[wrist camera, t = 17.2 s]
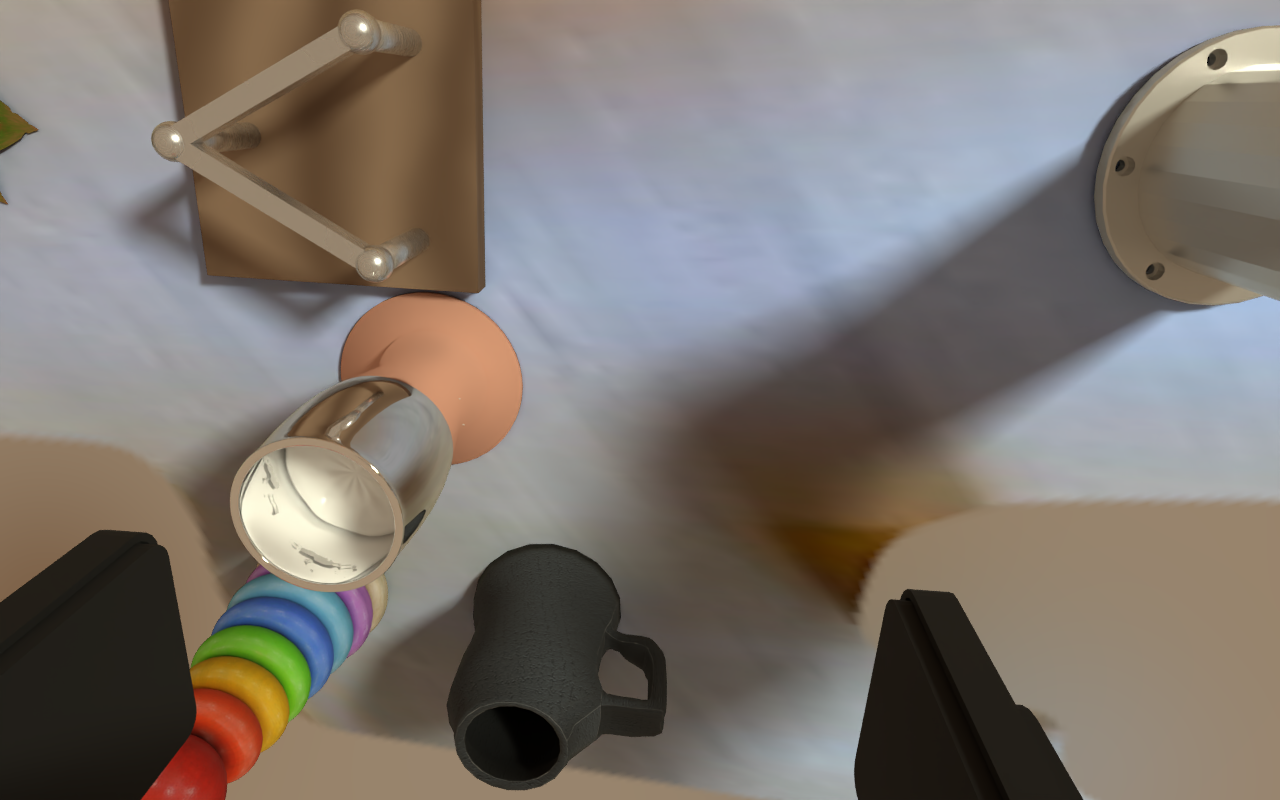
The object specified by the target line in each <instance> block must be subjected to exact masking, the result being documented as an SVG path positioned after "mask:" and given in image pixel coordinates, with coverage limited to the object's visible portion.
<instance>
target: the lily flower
mask: <svg viewBox="0 0 1280 800" xmlns="http://www.w3.org/2000/svg"><path fill="white" fill-rule="evenodd" d="M37 130H38V129H37V128H35V127H34V126H32V125H30V124H28V122H26V121H25V120H24V119H23V118H21V117H20V116H19V115H18V114H16V113H12V111H11V110H10V108H9V107H8V106H7V105H5V104H4V103H3V102H2V101H0V150H2V149H4V148H6V147H8V146H10V145H11V144H13V143H15V142H16V141H18V140H19V139H21V138H22V135H24V133H25V132H27V133H31V132H33V131H37ZM0 202H3V203H5V204H8V203H7V202H6V200H5V199H4V198H3V196H2V195H1V192H0Z"/></svg>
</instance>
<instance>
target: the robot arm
mask: <svg viewBox="0 0 1280 800" xmlns="http://www.w3.org/2000/svg"><path fill="white" fill-rule="evenodd" d="M1208 56H1209V57H1210V61H1209V63H1208V64H1207V58H1208ZM1118 161H1120V166H1119V168H1118V169H1117V170H1115V166H1116V164H1117V162H1118ZM1094 202H1095V214H1096V222H1097V225H1098V228H1099V232H1100V235H1101V238H1102V242H1103V244H1104V245H1105V247H1106V249H1107V251H1108V252H1109V254H1110V256H1111V258H1112V259H1113V261H1114V262H1115V263H1116V264H1117V265H1118V267H1119V268H1120V269H1121V270H1122V271H1123V272H1124V273H1125V274H1126V275H1127V276H1128V277H1129V278H1130V279H1132V280H1133V281H1135V282H1136V283H1138V284H1139V285H1141V286H1142V287H1144V288H1145V289H1147V290H1149V291H1152V292H1154V293H1157V294H1159V295H1161V296H1163V297H1166V298H1169V299H1172V300H1176V301H1180V302H1184V303H1187V304H1197V305H1213V306H1214V305H1223V304H1232V303H1240V302H1244V301H1247V300H1251V299H1254V298H1258V297H1261V296H1266V297H1269V298H1272V299H1275V300H1278V301H1280V26H1261V27H1255V28H1249V29H1242V30H1236V31H1233V32H1230V33H1227V34H1224V35H1221V36H1218V37H1215V38H1212V39H1209V40H1206V41H1205V42H1203V43H1201V44H1199V45H1197V46H1195V47H1193V48H1191V49H1189V50H1188V51H1186V52H1184V53H1182V54H1180V55H1179V56H1178V57H1176V58H1175V59H1174V60H1172V61H1171V62H1170V63H1168V64H1167V65H1166V66H1164V67H1163V68H1162V69H1160V70H1159V71H1158V72H1156V73H1155V74H1154V75H1153V76H1152V77H1151V78H1150V79H1149V80H1148V81H1147V82H1146V84H1145V85H1144V86H1143V87H1142V88H1141V89H1140V90H1139V91H1138V92H1137V93H1136V94H1135V95H1134V96H1133V98H1132V99H1131V101H1130V102H1129V103H1128V105H1127V106H1126V108H1125V109H1124V110H1123V112H1122V113H1121V115H1120V116H1119V117H1118V119H1117V121H1116V123H1115V125H1114V127H1113V129H1112V131H1111V133H1110V135H1109V137H1108V139H1107V141H1106V143H1105V145H1104V149H1103V152H1102V155H1101V158H1100V162H1099V165H1098V168H1097V174H1096V183H1095V191H1094ZM1148 266H1150V268H1149V270H1148V271H1146V270H1147V268H1148ZM196 714H197V708H196V701H195V696H194V690H193V685H192V679H191V674H190V669H189V664H188V658H187V653H186V647H185V641H184V636H183V631H182V625H181V620H180V615H179V609H178V603H177V599H176V593H175V588H174V582H173V576H172V571H171V566H170V561H169V555H168V552H167V550H166V549H165V548H164V547H163V546H161V545H158V544H157V541H156V540H155V538H154V537H153V536H152V535H150V534H148V533H142V532H129V531H116V530H99V531H97V532H95V533H93V534H92V535H90V536H89V537H88V538H86V539H85V540H84V541H82V542H81V543H80V544H78V545H77V546H76V547H74V548H73V549H72V550H70V551H69V552H67V553H66V554H65V555H63V556H62V557H61V558H60V559H58V560H57V561H55V562H54V563H53V564H51V565H50V566H49V567H47V568H46V569H45V570H43V571H42V572H41V573H39V574H38V575H37V576H35V577H34V578H32V579H31V580H30V581H28V582H27V583H26V584H24V585H23V586H22V587H20V588H19V589H18V590H16V591H15V592H14V593H12V594H11V595H10V596H9V597H7V598H6V599H4V600H3V601H2V602H0V800H141V799H142V798H143V796H144V795H145V794H146V792H147V791H148V790H149V789H150V787H151V786H152V785H153V783H154V782H155V781H156V779H157V778H158V777H159V776H160V774H161V773H162V772H163V770H164V769H165V768H166V766H167V765H168V764H169V762H170V761H171V760H172V759H173V757H174V756H175V755H176V753H177V752H178V751H179V749H180V748H181V747H182V746H183V744H184V743H185V742H186V740H187V739H188V737H189V736H190V734H191V732H192V730H193V727H194V724H195V721H196ZM854 778H855V788H856V793H857V797H858V800H1083V798H1082V797H1081V795H1080V793H1079V791H1078V790H1077V788H1076V786H1075V784H1074V783H1073V781H1072V779H1071V777H1070V776H1069V774H1068V772H1067V771H1066V769H1065V767H1064V765H1063V764H1062V762H1061V760H1060V758H1059V757H1058V755H1057V753H1056V751H1055V750H1054V748H1053V746H1052V744H1051V743H1050V741H1049V739H1048V737H1047V736H1046V734H1045V732H1044V730H1043V729H1042V727H1041V725H1040V723H1039V722H1038V720H1037V719H1036V717H1035V716H1034V715H1033V713H1032V712H1031V711H1030V710H1029V709H1028V708H1026V707H1024V706H1023V705H1016V704H1015V703H1014V701H1013V699H1012V697H1011V695H1010V693H1009V692H1008V690H1007V688H1006V686H1005V685H1004V683H1003V681H1002V679H1001V677H1000V675H999V674H998V672H997V670H996V668H995V667H994V665H993V663H992V661H991V659H990V657H989V656H988V654H987V652H986V650H985V648H984V646H983V645H982V643H981V641H980V639H979V637H978V636H977V634H976V632H975V630H974V628H973V627H972V625H971V623H970V621H969V619H968V617H967V616H966V614H965V612H964V610H963V608H962V607H961V605H960V603H959V601H958V599H957V598H956V597H955V595H954V594H953V593H950V592H940V591H926V590H913V589H907V590H905V591H904V592H903V594H902V596H901V599H900V600H892V599H891V600H889V601H888V603H887V605H886V609H885V612H884V617H883V622H882V628H881V633H880V637H879V642H878V648H877V653H876V658H875V663H874V668H873V673H872V678H871V683H870V688H869V693H868V698H867V703H866V708H865V713H864V718H863V723H862V728H861V733H860V738H859V743H858V748H857V753H856V758H855V767H854Z"/></svg>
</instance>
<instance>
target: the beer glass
mask: <svg viewBox="0 0 1280 800" xmlns="http://www.w3.org/2000/svg"><path fill="white" fill-rule="evenodd" d="M487 395H488V381H487V376H486V372H485V369H484V367H483V365H482V363H481V361H480V359H479V358H478V356H477V355H476V354H475V353H474V351H473V350H472V349H471V348H470V347H469V346H468V345H466V344H465V343H464V342H463V341H461V340H460V339H458V338H456V337H454V336H452V335H450V334H447V333H444V332H440V331H434V330H421V331H415V332H411V333H408V334H406V335H403V336H401V337H400V338H398V339H397V340H395V341H394V342H393V343H392V344H391V345H390V346H389V347H388V348H387V349H386V350H385V352H384V353H383V355H382V356H381V358H380V360H379V362H378V364H377V366H376V368H375V369H372V370H370V371H367V372H364V373H362V374H359V375H356V376H354V377H351V378H349V379H346V380H344V381H342V382H340V383H338V384H336V385H334V386H332V387H330V388H328V389H326V390H324V391H322V392H320V393H319V394H317V395H316V396H314V397H313V398H312V399H310V400H309V401H308V402H306V403H305V404H303V405H302V406H301V407H299V408H298V409H297V410H296V411H295V412H294V413H292V414H291V415H290V416H289V417H288V418H287V419H286V420H285V421H284V422H283V423H281V424H280V425H279V426H278V428H277V429H276V430H275V431H274V432H273V433H272V434H271V435H270V436H269V437H268V438H267V439H266V440H265V441H264V443H263V444H262V445H261V446H260V447H259V448H258V449H257V450H256V451H255V452H254V453H252V454H251V455H250V456H249V457H248V458H247V459H246V460H245V461H244V462H243V464H242V465H241V466H240V468H239V470H238V471H237V473H236V475H235V477H234V480H233V483H232V487H231V491H230V512H231V517H232V521H233V524H234V527H235V530H236V532H237V534H238V536H239V538H240V540H241V542H242V543H243V545H244V546H245V548H246V549H247V551H248V552H249V553H250V554H251V555H252V556H253V558H254V559H255V560H256V561H257V562H258V563H259V564H261V565H262V566H263V567H264V568H265V569H267V570H268V571H269V572H271V573H272V574H274V575H275V576H277V577H278V578H280V579H282V580H284V581H286V582H288V583H290V584H293V585H295V586H298V587H301V588H305V589H309V590H313V591H320V592H343V591H349V590H353V589H357V588H360V587H363V586H365V585H367V584H369V583H371V582H373V581H375V580H376V579H378V578H379V577H380V576H381V575H383V574H384V573H385V572H386V571H387V570H388V569H389V568H390V566H391V565H392V564H393V562H394V561H395V559H396V557H397V556H398V555H399V553H400V552H401V551H402V550H403V549H404V547H405V546H406V545H407V544H408V543H409V541H410V540H411V539H412V537H413V536H414V535H415V534H416V532H417V531H418V530H419V528H420V527H421V526H422V524H423V523H424V521H425V520H426V518H427V517H428V515H429V514H430V512H431V511H432V509H433V507H434V505H435V503H436V502H437V500H438V498H439V496H440V494H441V492H442V490H443V488H444V485H445V482H446V479H447V476H448V473H449V470H450V467H451V464H452V459H453V455H454V451H455V446H456V441H457V437H458V434H459V433H461V432H462V431H464V430H465V429H467V428H468V427H469V426H470V425H471V424H473V423H474V422H475V421H476V419H477V418H478V417H479V416H480V414H481V413H482V411H483V409H484V406H485V404H486V400H487Z"/></svg>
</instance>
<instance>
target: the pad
mask: <svg viewBox="0 0 1280 800" xmlns="http://www.w3.org/2000/svg"><path fill="white" fill-rule="evenodd" d="M421 330H434V331H440V332H444V333H447V334H450V335H452V336H454V337H456V338H458V339H460V340H461V341H463V342H464V343H465V344H466V345H468V346H469V347H470V348H471V349H472V350H473V351H474V353H475V354H476V355H477V356H478V358H479V359H480V361H481V363H482V365H483V367H484V369H485V372H486V376H487V381H488V395H487V400H486V404H485V406H484V409H483V411H482V413H481V414H480V416H479V417H478V418H477V419H476V421H475V422H474V423H473V424H471V425H470V426H469V427H468V428H467V429H465V430H464V431H462V432H461V433H459V434H458V437H457V441H456V446H455V451H454V455H453V459H452V464H458V463H463V462H467V461H470V460H472V459H475V458H478V457H479V456H481V455H483V454H485V453H487V452H488V451H490V450H491V449H492V448H494V447H495V446H496V445H497V444H498V443H499V442H500V441H501V440H502V439H503V438H504V437H505V436H506V434H507V433H508V432H509V430H510V429H511V427H512V425H513V423H514V421H515V419H516V417H517V414H518V412H519V409H520V405H521V400H522V390H523V384H522V374H521V369H520V364H519V361H518V358H517V355H516V353H515V351H514V349H513V347H512V345H511V343H510V341H509V340H508V338H507V337H506V335H505V334H504V332H503V331H502V330H501V329H500V328H499V327H498V325H497V324H496V323H495V322H494V321H493V320H492V319H490V318H489V317H488V316H487V315H486V314H485V313H483V312H482V311H480V310H479V309H478V308H476V307H474V306H472V305H471V304H469V303H467V302H465V301H463V300H460V299H457V298H455V297H452V296H448V295H444V294H439V293H432V292H414V293H407V294H402V295H399V296H395V297H392V298H390V299H388V300H385V301H383V302H381V303H380V304H378V305H377V306H375V307H373V308H372V309H371V310H369V311H368V312H367V313H366V314H365V315H363V316H362V318H361V319H360V320H359V321H358V322H357V323H356V324H355V326H354V328H353V329H352V331H351V332H350V334H349V336H348V339H347V341H346V343H345V346H344V350H343V353H342V360H341V379H342V381H344V380H346V379H349V378H351V377H354V376H356V375H359V374H362V373H364V372H367V371H370V370H372V369H375V368H376V366H377V364H378V362H379V360H380V358H381V356H382V355H383V353H384V352H385V350H386V349H387V348H388V347H389V346H390V345H391V344H392V343H393V342H394V341H395V340H397V339H398V338H400V337H401V336H403V335H406V334H408V333H411V332H415V331H421Z"/></svg>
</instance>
